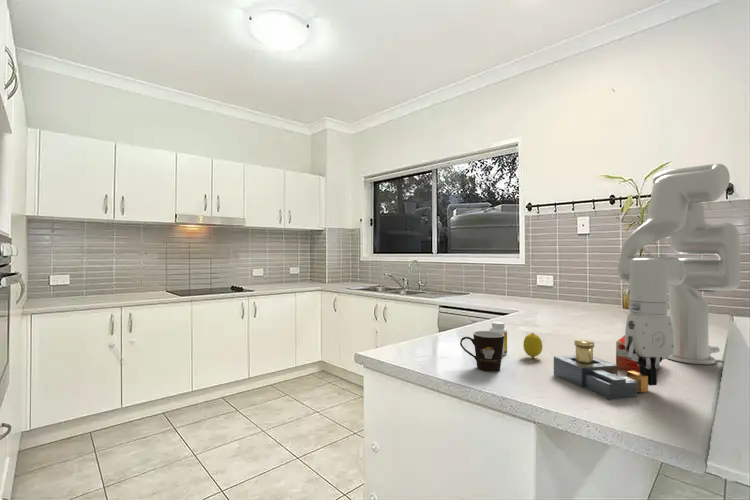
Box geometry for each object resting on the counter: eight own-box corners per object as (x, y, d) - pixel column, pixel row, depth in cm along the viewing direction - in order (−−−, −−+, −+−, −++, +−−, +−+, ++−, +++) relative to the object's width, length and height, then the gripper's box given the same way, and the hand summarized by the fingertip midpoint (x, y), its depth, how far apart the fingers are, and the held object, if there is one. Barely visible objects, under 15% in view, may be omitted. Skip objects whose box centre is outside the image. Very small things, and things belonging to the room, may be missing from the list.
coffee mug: (509, 368, 110) (509, 333, 110) (495, 375, 104) (495, 338, 104) (472, 360, 118) (472, 328, 118) (458, 366, 112) (458, 332, 112)
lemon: (544, 361, 118) (544, 335, 118) (525, 360, 119) (525, 334, 119) (540, 356, 123) (540, 331, 123) (522, 355, 124) (522, 330, 124)
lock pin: (633, 386, 95) (633, 370, 95) (648, 392, 91) (648, 376, 91) (605, 388, 93) (605, 372, 93) (619, 394, 89) (619, 378, 89)
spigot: (585, 376, 103) (585, 339, 103) (598, 382, 99) (598, 343, 99) (570, 377, 102) (570, 340, 102) (583, 383, 98) (582, 344, 98)
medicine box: (649, 375, 104) (649, 346, 104) (615, 369, 110) (615, 341, 110) (657, 363, 115) (657, 337, 115) (626, 358, 121) (625, 333, 121)
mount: (586, 372, 107) (586, 354, 107) (644, 396, 89) (644, 375, 89) (553, 374, 105) (553, 356, 105) (606, 400, 87) (606, 378, 87)
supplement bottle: (502, 351, 129) (502, 320, 129) (510, 355, 124) (510, 324, 124) (486, 351, 128) (486, 321, 128) (494, 356, 123) (494, 324, 123)
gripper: (635, 311, 88) (635, 391, 88) (688, 309, 91) (688, 386, 91) (609, 307, 95) (609, 380, 95) (658, 305, 98) (658, 376, 98)
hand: (648, 383), depth 93 cm, fingers closed
